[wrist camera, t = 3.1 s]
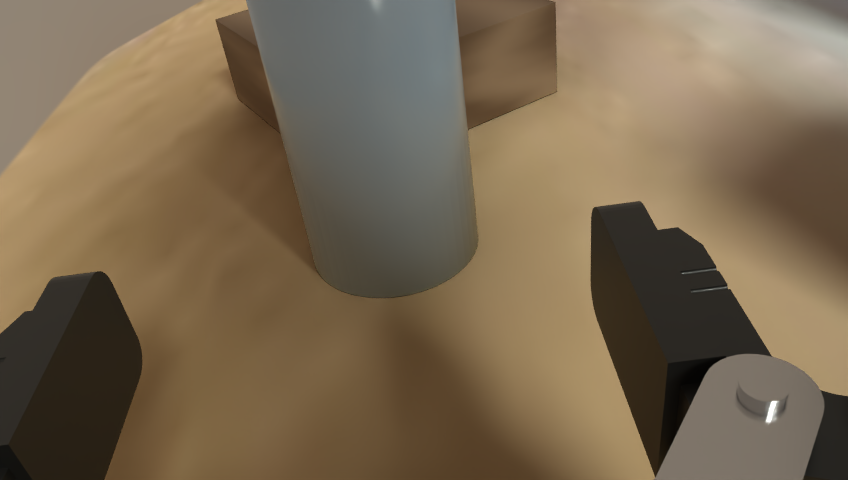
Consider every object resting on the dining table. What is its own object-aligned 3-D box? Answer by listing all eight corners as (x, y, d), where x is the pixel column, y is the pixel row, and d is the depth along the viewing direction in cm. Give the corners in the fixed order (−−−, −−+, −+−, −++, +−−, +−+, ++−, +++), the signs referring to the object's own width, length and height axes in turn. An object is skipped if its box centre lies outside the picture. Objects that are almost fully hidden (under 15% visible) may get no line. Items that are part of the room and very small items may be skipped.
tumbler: (420, 180, 28) (368, -175, 21) (514, 247, 24) (488, -166, 17) (285, 241, 26) (179, -133, 19) (364, 324, 22) (265, -112, 15)
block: (423, 33, 41) (413, -42, 39) (557, 91, 33) (555, 2, 31) (238, 98, 37) (215, 19, 35) (341, 183, 29) (320, 87, 27)
